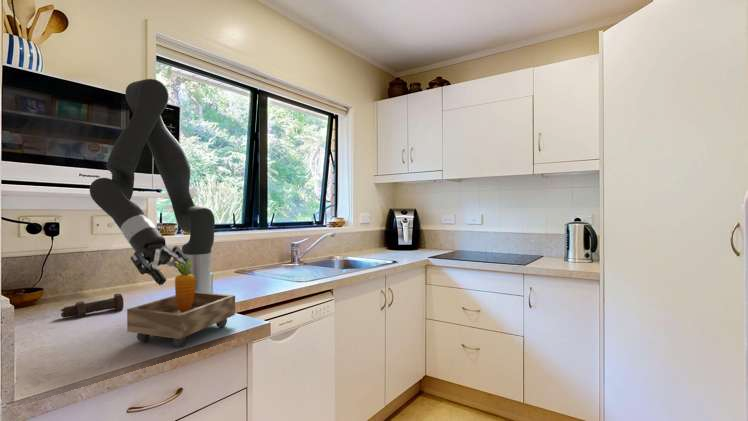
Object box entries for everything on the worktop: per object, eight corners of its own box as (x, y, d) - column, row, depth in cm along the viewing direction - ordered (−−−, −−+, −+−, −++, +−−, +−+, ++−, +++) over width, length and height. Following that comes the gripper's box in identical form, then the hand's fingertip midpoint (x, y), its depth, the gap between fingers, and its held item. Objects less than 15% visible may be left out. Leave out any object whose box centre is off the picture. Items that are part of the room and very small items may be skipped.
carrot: (181, 321, 94) (182, 263, 94) (170, 317, 97) (171, 260, 96) (199, 316, 99) (200, 260, 98) (187, 312, 101) (188, 258, 101)
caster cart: (189, 319, 110) (189, 290, 110) (235, 324, 105) (235, 295, 105) (127, 343, 90) (127, 309, 90) (179, 351, 86) (179, 315, 86)
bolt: (61, 325, 109) (121, 312, 120) (63, 320, 106) (124, 307, 117) (59, 306, 111) (118, 295, 122) (61, 300, 108) (121, 290, 119)
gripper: (126, 227, 94) (162, 275, 91) (171, 224, 108) (204, 266, 105) (110, 247, 95) (145, 295, 92) (157, 242, 109) (188, 283, 106)
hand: (176, 279), depth 99 cm, fingers open, 8 cm apart
